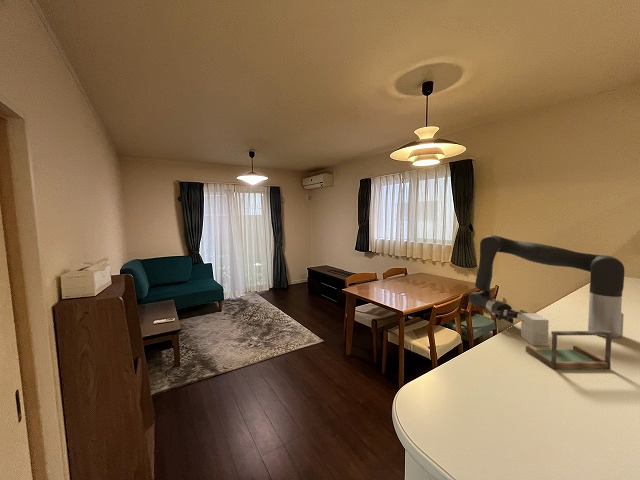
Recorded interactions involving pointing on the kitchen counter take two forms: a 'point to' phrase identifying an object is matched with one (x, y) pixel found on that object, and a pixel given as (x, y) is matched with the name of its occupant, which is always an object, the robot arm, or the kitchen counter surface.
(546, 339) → the small box
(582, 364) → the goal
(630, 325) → the kitchen counter surface
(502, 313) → the robot arm
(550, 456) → the kitchen counter surface
